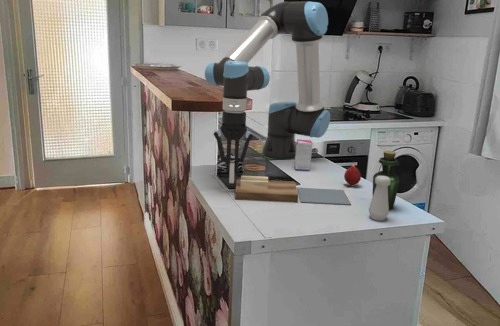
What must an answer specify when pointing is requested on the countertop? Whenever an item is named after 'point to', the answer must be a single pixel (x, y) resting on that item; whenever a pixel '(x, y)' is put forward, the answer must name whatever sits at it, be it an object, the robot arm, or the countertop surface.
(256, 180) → the beech block
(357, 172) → the onion
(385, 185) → the salt shaker
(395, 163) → the potion bottle
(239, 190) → the board
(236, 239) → the countertop surface
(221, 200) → the countertop surface
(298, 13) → the robot arm
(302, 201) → the slate mat
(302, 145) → the supplement box
